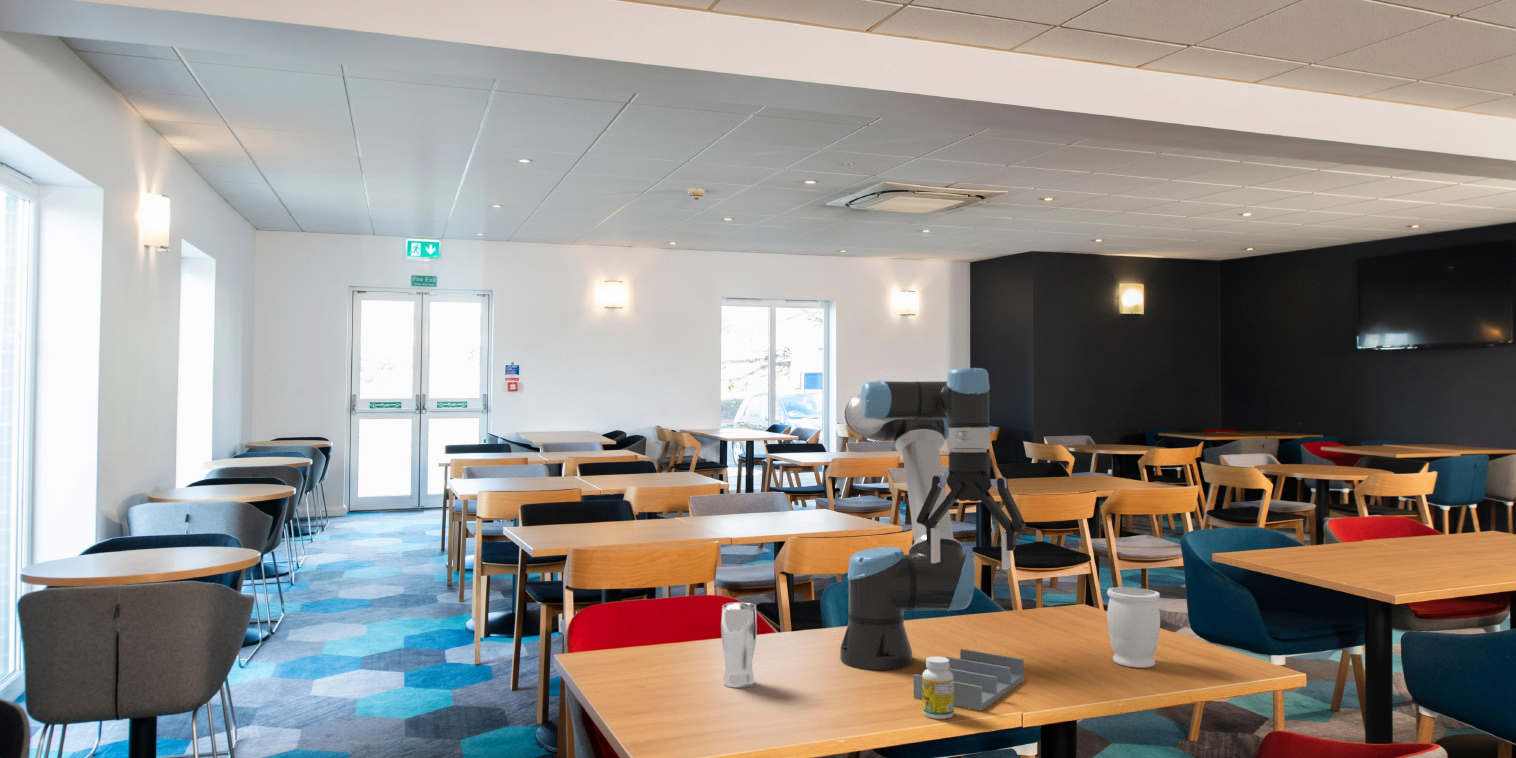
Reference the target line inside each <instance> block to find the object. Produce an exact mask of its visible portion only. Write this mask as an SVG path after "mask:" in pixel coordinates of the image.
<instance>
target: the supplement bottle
mask: <svg viewBox="0 0 1516 758" xmlns="http://www.w3.org/2000/svg"><path fill="white" fill-rule="evenodd" d="M925 666H926V668H927V669H925V670H924V671H923V672H922V674H921V675H922V688H923V690H922V691H923V700H922V713H923V715H924V716H925V717H927V718H929V719H934V720H946V719H947V718H948V719H950V718H952V717H953V716H954V713H955V706H954V681H953V674H952V673H951V672H950V671H949V670H948V669H949V667H950V665H949V659H947V658H946V657H944V656H928V657H926V661H925ZM948 719H947V720H948Z"/></svg>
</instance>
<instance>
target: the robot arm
mask: <svg viewBox="0 0 1516 758" xmlns="http://www.w3.org/2000/svg"><path fill="white" fill-rule="evenodd" d="M989 378H990V377H989V373H988V371H987V370H986V369H985V368H982V367H981V368H980V367H979V368H978V367H964V368H963V367H962V368H959V367H957V368H952V369H949V371H948V374H947V381H940V380H939V381H936V380H935V381H893V380H891V381H884V380H876V381H867V382H866V381H865V383H863V385H862V388H861V393H860V394H857V395H855V396H854V397H852V398H851V399H850V400H849V401H848V402H847V404H846V407H845V410H844V421H845V423H846V425H847V426H848V428H849V430H851V431H852V432H853V433H854V434H856V435H858V436H860V437H863V438H864V439H869V440H873V441H881V442H883V441H885V442H894V447H895V450H896V452H898V453H900V454H901V455H902V458H903V468H904V474H905V482H906V489H907V497H908V498H907V499H908V504H909V512H910V520H911V526H912V534H913V544H912V545H911V546H910V547H909V549H908V554H905V552H904V549H903V548H900V547H897V546H889V547H888V546H882V547H873V548H868V549H863V550H860V551H857V552H855V553H853V554H852V555H851V556H850V558H849V560H848V561H849V562H848V571H847V572H848V573H847V579H848V624H847V627H846V630H845V633H844V636H843V639H842V642H841V646H840V652H839V653H840V657H839V658H840V661H841V662H842V663H844V664H845V665H847V666H851V667H855V668H859V669H866V670H882V671H883V670H896V669H901V668H906V667H908V666H910V665H911V664H912V662H913V650H912V646H911V643H910V639H909V637H908V634H907V632H906V628H905V624H904V619H905V618H904V613H905V611H946V612H949V611H955V610H957V611H959V610H964V609H967V608H968V607H969V605H970V604H971V602H972V601H973V595H974V592H975V585H976V584H975V583H976V565H975V563H976V562H975V559H974V557H973V555H972V554H969V553H964V550H963V545H962V543H961V542H960V541H958V540H957V539H955V538H954V533H953V532H954V531H953V525H952V520H951V514H950V508H952V506H953V505H954V503H956V502H957V501H958V500H959V501H962V502H965V501H969V502H979V501H980V502H981V503H982V504H983V505H985V507H986V508H987V509H988V511H989V512H990V513H991V514H992V516H993V517H994V518H995V520H996V521H997V522H998V523H999V524H1000V526H1001V527H1002V528H1003V529H1004V532H1001V570H1005V571H1007V570H1008V569H1011V568H1012V567H1011V565H1012V563H1011V559H1012V558H1011V557H1012V555H1011V553H1012V552H1013V551H1016V550H1015V549H1016V547H1017V546H1016V544H1017V543H1016V538H1017V536H1016V534H1017V532H1018V531H1022V530H1025V529H1026V527H1027V524H1026V522H1025V520H1024V518H1023V516H1022V514H1021V511H1020V510H1019V508H1018V506H1017V504H1016V502H1015V500H1014V497H1013V496H1012V493H1011V491H1010V490H1009V482H1008V479H1007V477H999V478H994V479H993V478H992V477H991V459H990V458H991V456H990V455H991V453H989V451H987V450H990V448H991V446H990V445H991V443H990V442H991V441H990V389H991V385H990V381H989ZM946 440H948V448H949V449H950V450H951V451H950V452H949V453H948V476H947V477H946V476H944V471H943V465H942V459H941V453H940V452H941V451H940V449H942V447H943V446H944V444H945V441H946ZM946 485H947V486H948V488H949V489H950V491H949V493H948V494H947V490H946ZM992 486H993V487H994V489H995V491H996V490H997V493H998V494H999V497H1000V498H1001V499H1000V500H1001V501H1002V504H1003V505H1004V507H1005V510H1006V511H1007V513H1008V515H1007V514H1006V513H1005V512H1004V510H1003V509H1002V508H1001V506H999V504H998V503H997V502H996V500H995V499H994V497H993V495H992V494H991V493H990V492H989V490H991V488H992ZM1008 516H1009V517H1010V518H1009V517H1008ZM1011 551H1012V552H1011Z"/></svg>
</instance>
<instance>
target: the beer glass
mask: <svg viewBox="0 0 1516 758" xmlns="http://www.w3.org/2000/svg"><path fill="white" fill-rule="evenodd" d="M721 607H722V608H721V622H720V634H721V643H722V651H723V654H724V660H725V661H724V663H725V671H724V675H723V681H722V682H723V685H724V686H725V687H728V688H732V689H733V688H734V689H745V688H750V687H752V686H755V677H754V672H753V671H754V670H753V659H754V654H755V648H756V643H757V635H758V634H757V632H758V631H757V630H758V621H757V620H758V619H757V605H756V604H754V603H751V602H742V601H741V602H738V601H737V602H736V601H735V602H727V603H725V604H723V605H722V606H721Z"/></svg>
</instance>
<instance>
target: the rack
mask: <svg viewBox="0 0 1516 758" xmlns="http://www.w3.org/2000/svg"><path fill="white" fill-rule="evenodd" d="M959 655H960V658H955V657H950V656H946V657H945V658H947V659H949V665H950V667H949V669H948V670H949V671H950V672H951V673H952V674H953V681H954V707H957V708H962V707H963V709H967V708H970V709H969V710H971V709H975V710H974V711H976V710H980V711H979V712H982V711H984V710H985V709H987V708H988V707H989V706H991V705H992V704H994V703H995V702H996V701H997V700H999V699H1001V698H1002V697H1003V696H1005V695H1006V694H1007V693H1009V692H1010V691H1012V690H1013V689H1015V688H1017V686H1019V685H1020V684H1021V683H1023V682H1025V664H1024V663H1025V659H1024V658H1019V657H1011V656H1007V655H1000V654H994V653H987V652H982V651H977V650H969V649H963V648H960V650H959ZM922 675H923V674H916V673H914V674H913V698H914V699H918V700H922V701H923V691H922V690H923V688H922ZM1000 697H1001V698H1000ZM990 704H991V705H990ZM984 708H985V709H984ZM983 709H984V710H983ZM981 710H982V711H981Z"/></svg>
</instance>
